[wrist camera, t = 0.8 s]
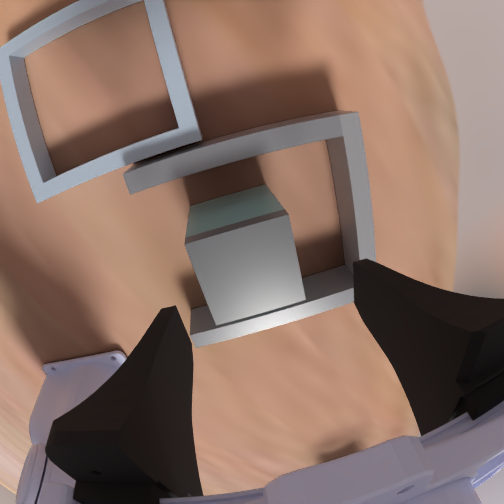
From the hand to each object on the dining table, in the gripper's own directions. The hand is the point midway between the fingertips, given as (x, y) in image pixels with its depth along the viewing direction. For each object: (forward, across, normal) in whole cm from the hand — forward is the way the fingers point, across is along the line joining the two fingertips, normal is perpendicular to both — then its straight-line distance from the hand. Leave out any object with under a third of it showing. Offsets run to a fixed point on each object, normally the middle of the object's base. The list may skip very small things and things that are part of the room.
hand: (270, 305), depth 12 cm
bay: (+10, 0, 0) cm, 10 cm away
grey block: (+10, 0, 0) cm, 10 cm away
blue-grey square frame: (+10, +7, -11) cm, 16 cm away
